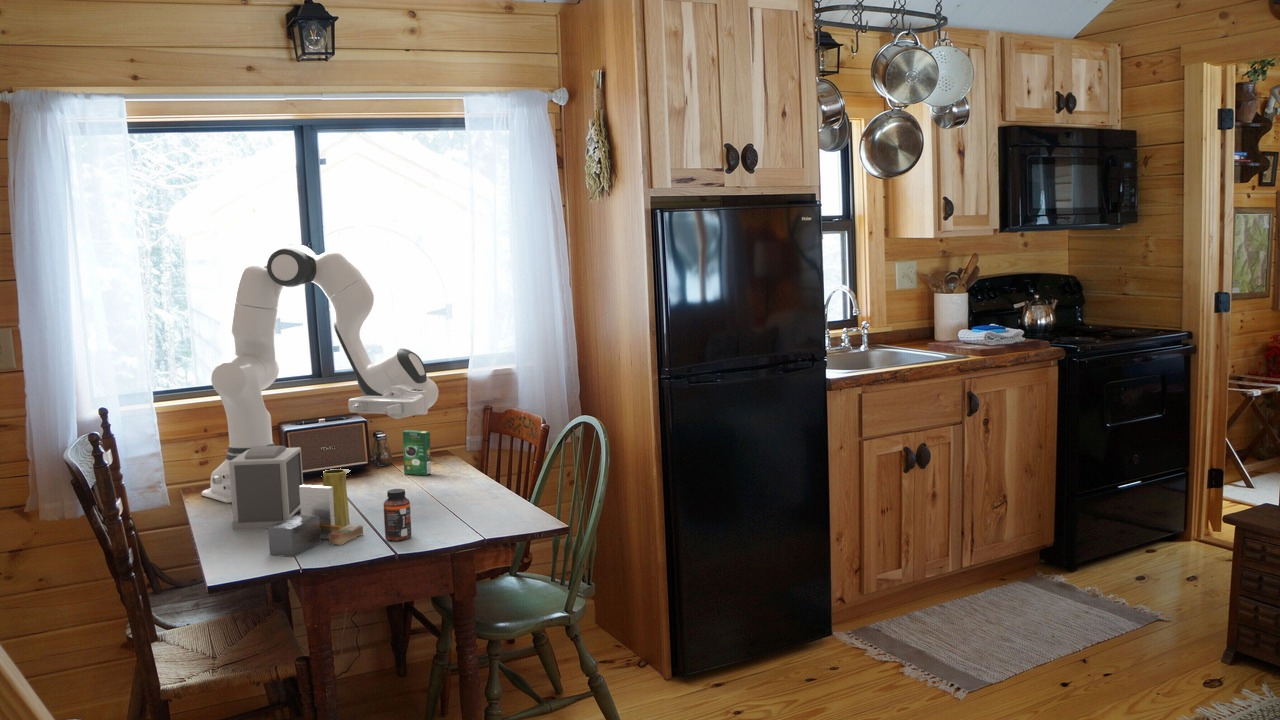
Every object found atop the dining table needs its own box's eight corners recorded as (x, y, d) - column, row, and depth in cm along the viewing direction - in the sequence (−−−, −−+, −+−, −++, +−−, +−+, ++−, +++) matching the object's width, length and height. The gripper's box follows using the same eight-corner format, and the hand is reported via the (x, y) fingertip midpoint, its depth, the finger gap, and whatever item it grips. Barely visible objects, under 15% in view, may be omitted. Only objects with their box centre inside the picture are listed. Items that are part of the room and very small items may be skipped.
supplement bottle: (412, 540, 230) (410, 492, 229) (385, 543, 228) (383, 494, 227) (410, 533, 236) (408, 486, 234) (384, 536, 234) (382, 488, 233)
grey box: (254, 510, 261) (249, 441, 259) (306, 508, 262) (302, 439, 259) (231, 530, 242) (225, 455, 240) (287, 527, 243) (282, 453, 241)
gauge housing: (270, 554, 222) (268, 527, 221) (298, 541, 231) (296, 515, 230) (293, 556, 220) (291, 528, 219) (320, 543, 229) (318, 516, 229)
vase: (340, 533, 237) (337, 474, 235) (318, 532, 239) (315, 473, 237) (355, 526, 242) (352, 468, 241) (333, 525, 244) (330, 467, 243)
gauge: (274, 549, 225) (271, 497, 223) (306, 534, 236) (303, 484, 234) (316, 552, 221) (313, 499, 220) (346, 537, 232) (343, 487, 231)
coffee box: (432, 474, 297) (430, 430, 296) (427, 476, 295) (425, 432, 293) (409, 472, 300) (406, 429, 298) (403, 474, 297) (401, 431, 296)
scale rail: (329, 544, 228) (328, 534, 228) (352, 533, 237) (351, 523, 237) (340, 545, 227) (340, 535, 227) (363, 534, 236) (362, 524, 236)
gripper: (364, 389, 271) (334, 396, 258) (432, 390, 265) (404, 398, 252) (366, 412, 272) (335, 421, 259) (433, 414, 266) (405, 423, 253)
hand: (370, 410), depth 256 cm, fingers open, 8 cm apart
